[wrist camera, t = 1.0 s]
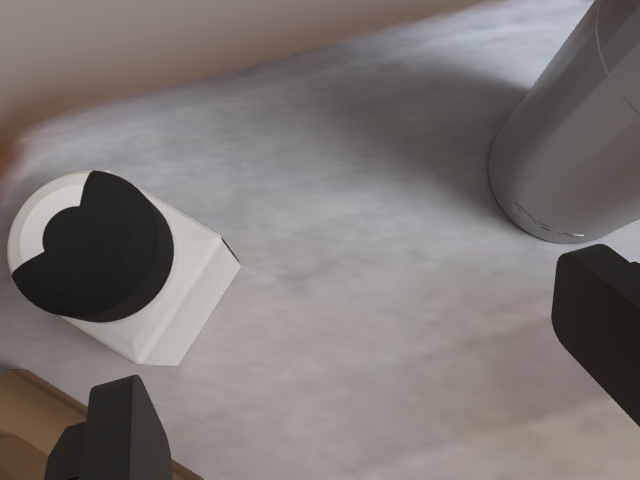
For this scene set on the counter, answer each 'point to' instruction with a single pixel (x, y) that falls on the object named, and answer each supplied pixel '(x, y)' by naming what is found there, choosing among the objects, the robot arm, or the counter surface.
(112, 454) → the robot arm
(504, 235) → the counter surface
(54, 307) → the medicine bottle
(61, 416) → the tall column
